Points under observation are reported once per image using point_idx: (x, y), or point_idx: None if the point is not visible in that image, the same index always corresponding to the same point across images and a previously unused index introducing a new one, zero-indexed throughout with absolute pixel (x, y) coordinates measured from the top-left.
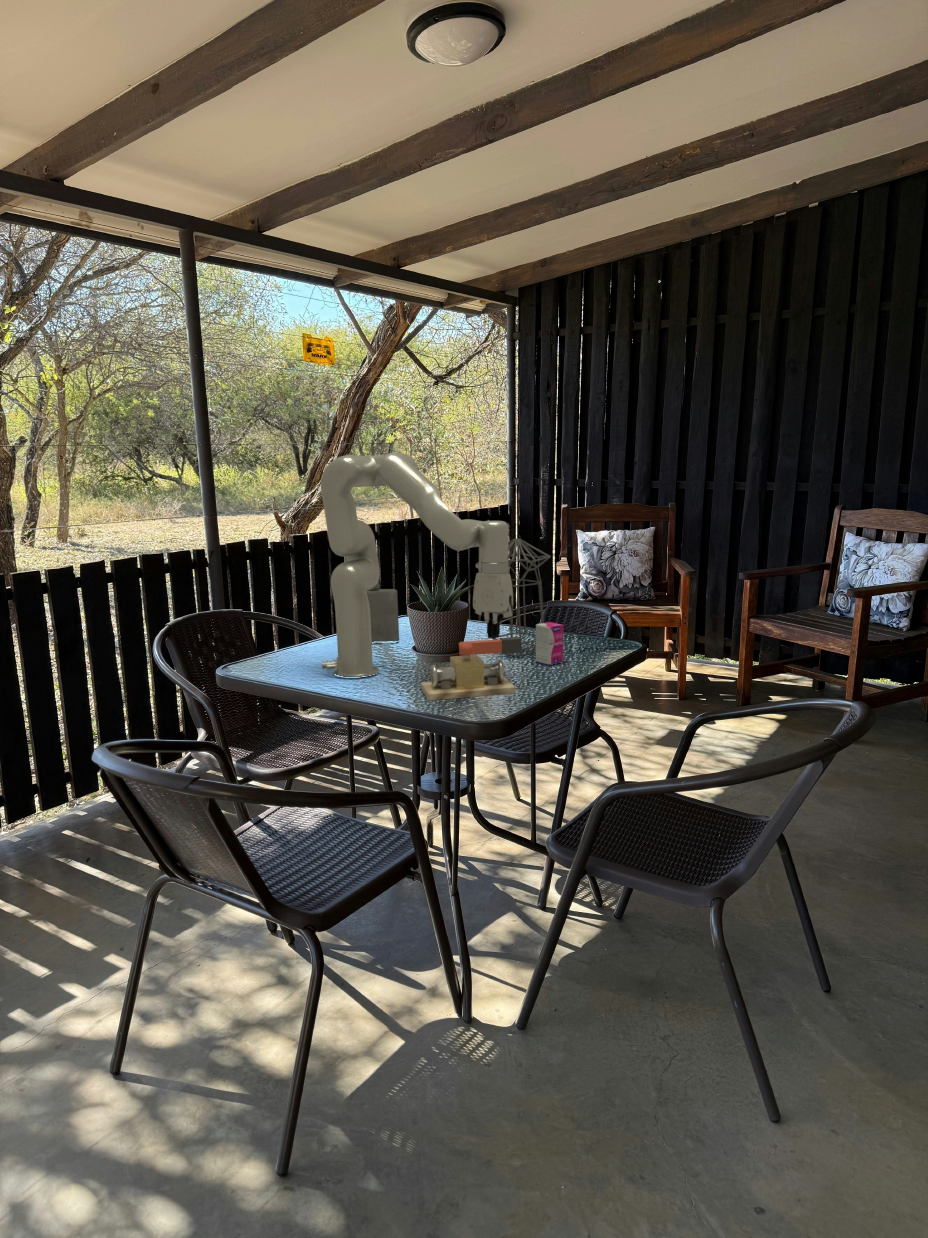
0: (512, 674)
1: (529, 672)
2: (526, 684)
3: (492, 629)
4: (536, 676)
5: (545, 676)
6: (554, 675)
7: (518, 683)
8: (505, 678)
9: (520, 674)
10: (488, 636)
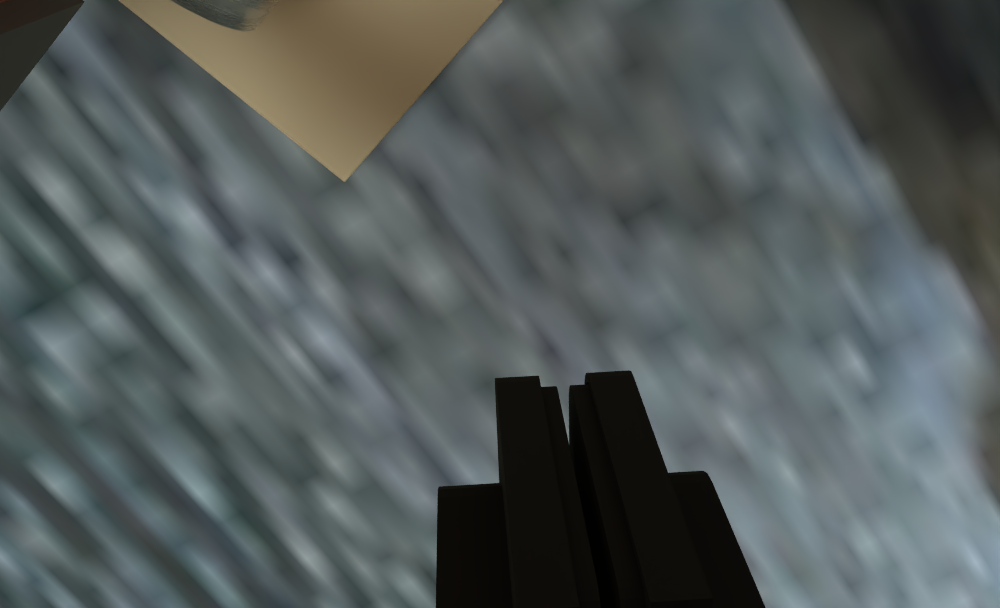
0: (445, 446)
1: (345, 576)
2: (48, 191)
3: (514, 493)
4: (188, 497)
5: (114, 536)
6: (68, 601)
7: (152, 183)
8: (241, 93)
9: (374, 482)
10: (614, 382)
